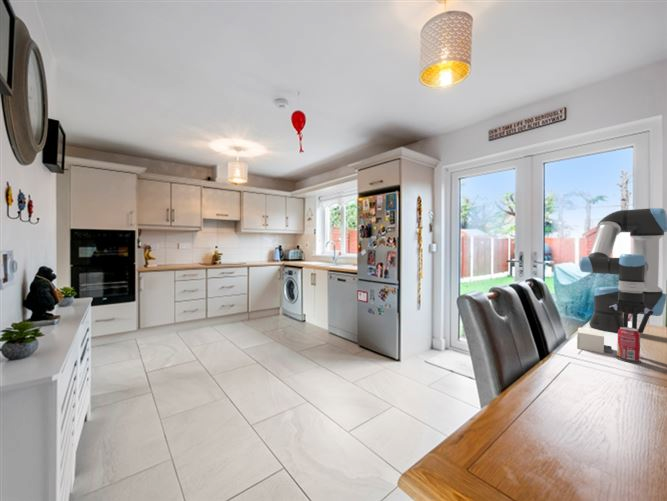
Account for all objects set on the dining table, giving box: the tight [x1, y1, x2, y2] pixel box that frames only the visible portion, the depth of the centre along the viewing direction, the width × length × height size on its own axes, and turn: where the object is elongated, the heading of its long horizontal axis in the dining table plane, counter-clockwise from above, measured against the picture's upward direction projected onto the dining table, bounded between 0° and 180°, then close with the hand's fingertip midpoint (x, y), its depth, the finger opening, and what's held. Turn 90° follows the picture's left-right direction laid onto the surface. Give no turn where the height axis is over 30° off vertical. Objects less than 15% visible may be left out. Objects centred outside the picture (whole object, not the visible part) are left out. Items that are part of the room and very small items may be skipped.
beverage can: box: [616, 326, 641, 361], centre depth 114 cm, size 6×6×12 cm
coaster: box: [615, 355, 642, 364], centre depth 114 cm, size 7×7×1 cm
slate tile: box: [604, 344, 613, 354], centre depth 126 cm, size 6×9×2 cm, turn 48°
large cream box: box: [576, 327, 605, 354], centre depth 128 cm, size 8×11×7 cm
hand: (629, 347), depth 120 cm, fingers closed
